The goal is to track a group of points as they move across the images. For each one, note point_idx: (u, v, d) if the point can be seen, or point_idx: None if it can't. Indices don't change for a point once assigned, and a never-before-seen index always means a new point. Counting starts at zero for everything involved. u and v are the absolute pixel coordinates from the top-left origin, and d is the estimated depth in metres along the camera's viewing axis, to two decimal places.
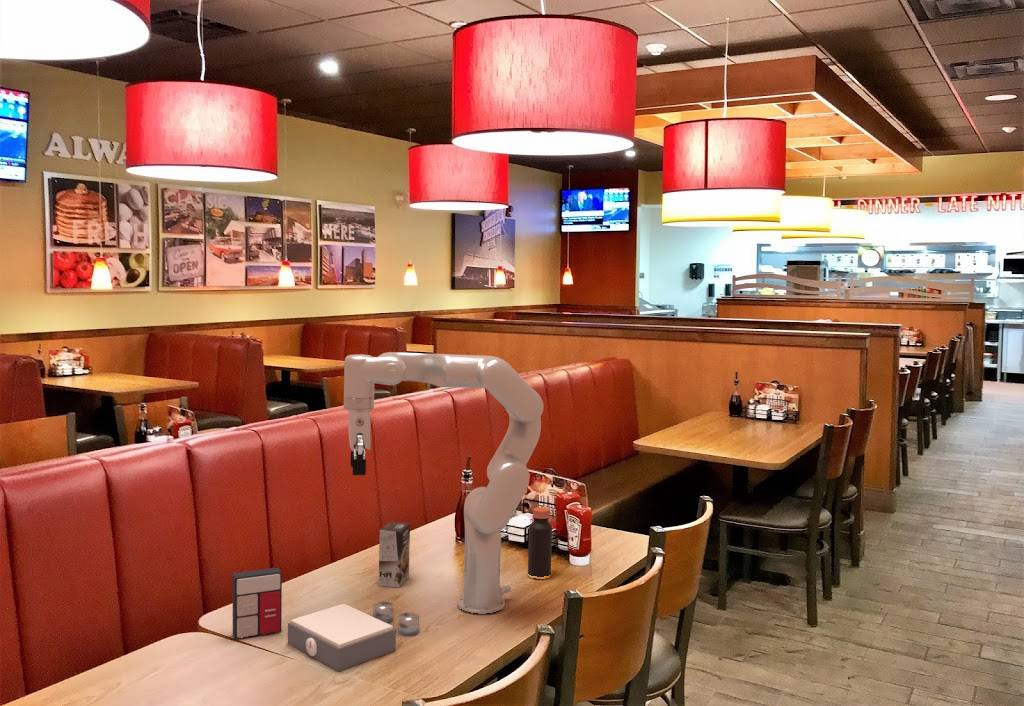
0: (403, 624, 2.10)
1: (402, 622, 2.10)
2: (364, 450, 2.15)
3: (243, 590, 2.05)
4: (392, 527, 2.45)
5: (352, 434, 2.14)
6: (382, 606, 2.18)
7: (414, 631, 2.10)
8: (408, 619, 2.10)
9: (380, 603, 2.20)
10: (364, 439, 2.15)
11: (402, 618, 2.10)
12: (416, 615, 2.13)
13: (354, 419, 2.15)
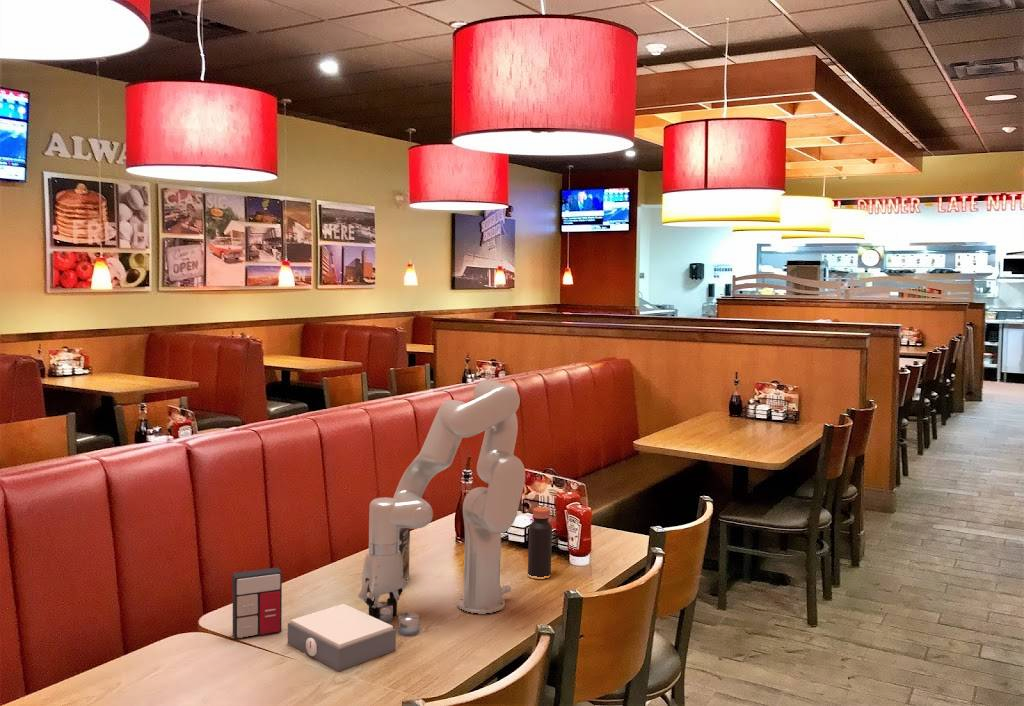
0: (403, 624, 2.10)
1: (402, 622, 2.10)
2: None
3: (243, 590, 2.05)
4: None
5: (402, 572, 2.20)
6: (382, 606, 2.18)
7: (414, 631, 2.10)
8: (408, 619, 2.10)
9: (380, 603, 2.20)
10: None
11: (402, 618, 2.10)
12: (416, 615, 2.13)
13: None
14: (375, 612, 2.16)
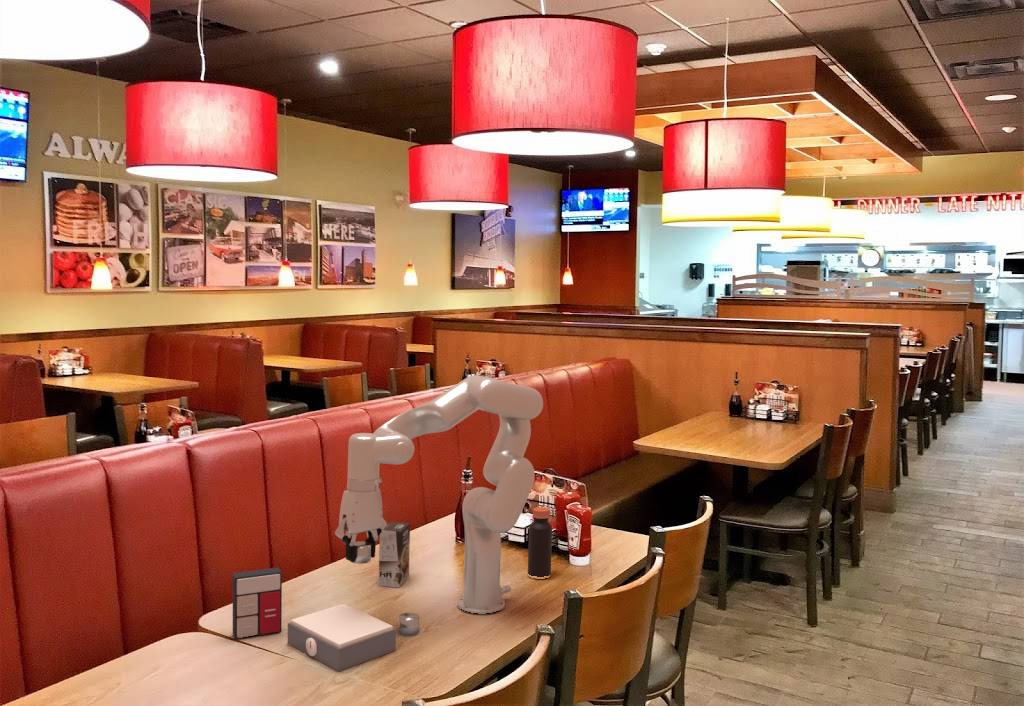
0: (403, 624, 2.10)
1: (402, 622, 2.10)
2: None
3: (243, 590, 2.05)
4: (392, 527, 2.45)
5: None
6: (359, 545, 2.10)
7: (414, 631, 2.10)
8: (408, 619, 2.10)
9: (358, 542, 2.13)
10: None
11: (402, 618, 2.10)
12: (416, 615, 2.13)
13: None
14: (352, 550, 2.08)
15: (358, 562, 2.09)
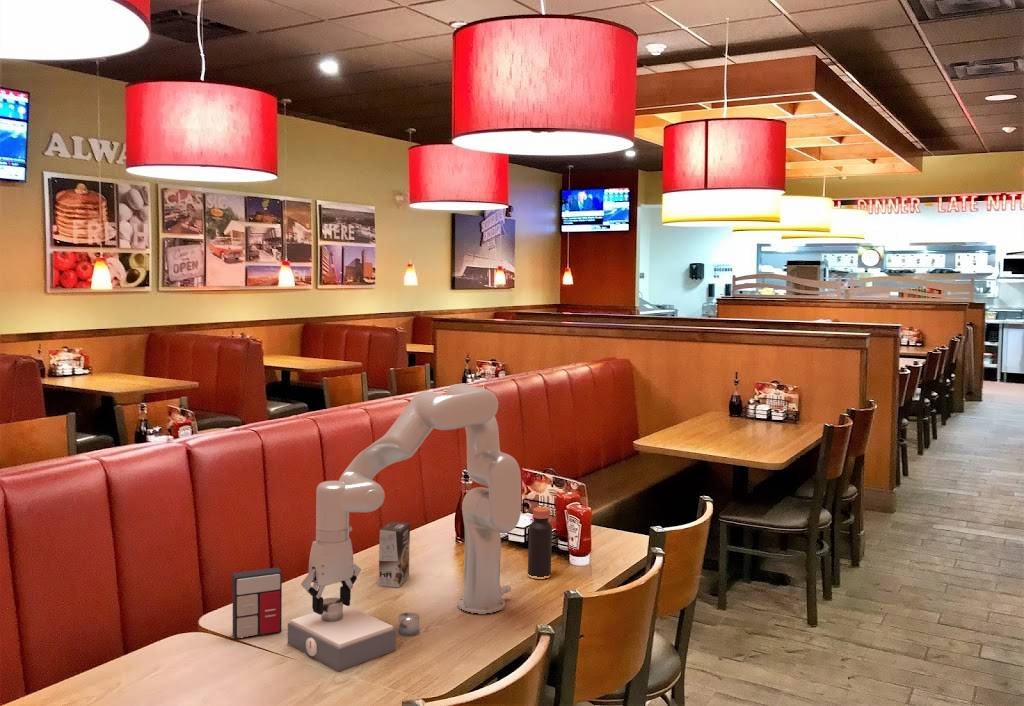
0: (403, 624, 2.10)
1: (402, 622, 2.10)
2: None
3: (243, 590, 2.05)
4: (392, 527, 2.45)
5: (353, 561, 2.06)
6: (330, 603, 2.04)
7: (414, 631, 2.10)
8: (408, 619, 2.10)
9: (329, 599, 2.06)
10: None
11: (402, 619, 2.10)
12: (416, 615, 2.13)
13: None
14: (319, 603, 2.01)
15: (329, 620, 2.03)
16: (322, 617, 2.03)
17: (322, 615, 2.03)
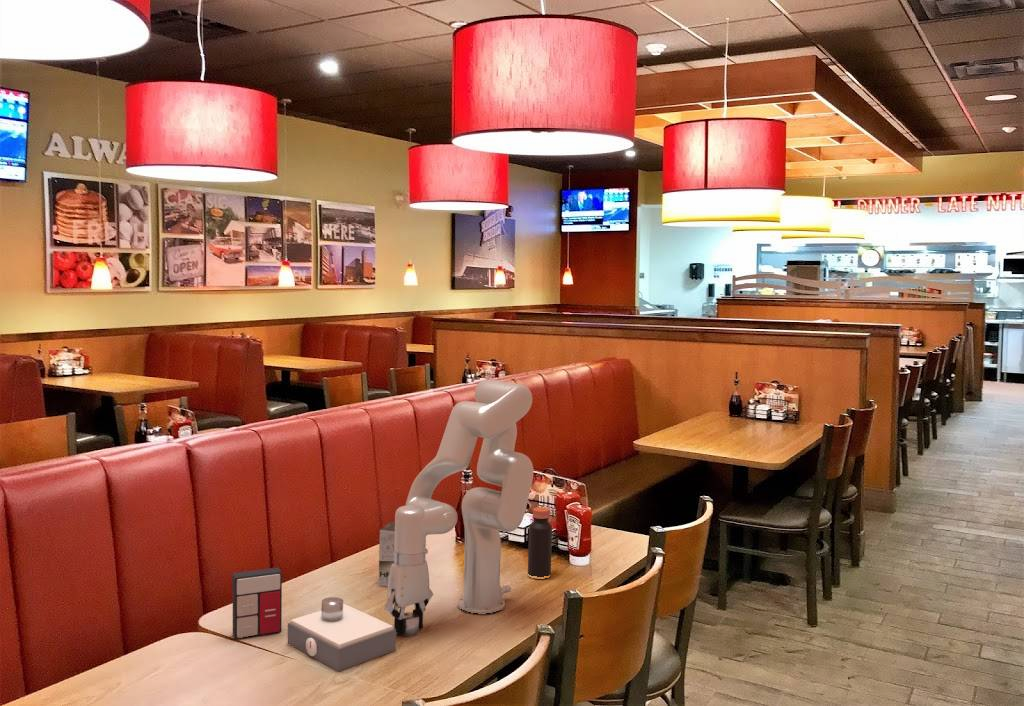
0: None
1: None
2: None
3: (243, 590, 2.05)
4: (392, 527, 2.45)
5: None
6: (331, 602, 2.04)
7: (414, 631, 2.10)
8: (408, 619, 2.10)
9: (329, 599, 2.06)
10: None
11: None
12: (416, 615, 2.13)
13: None
14: (401, 624, 2.09)
15: (330, 620, 2.03)
16: (323, 617, 2.03)
17: (323, 615, 2.03)
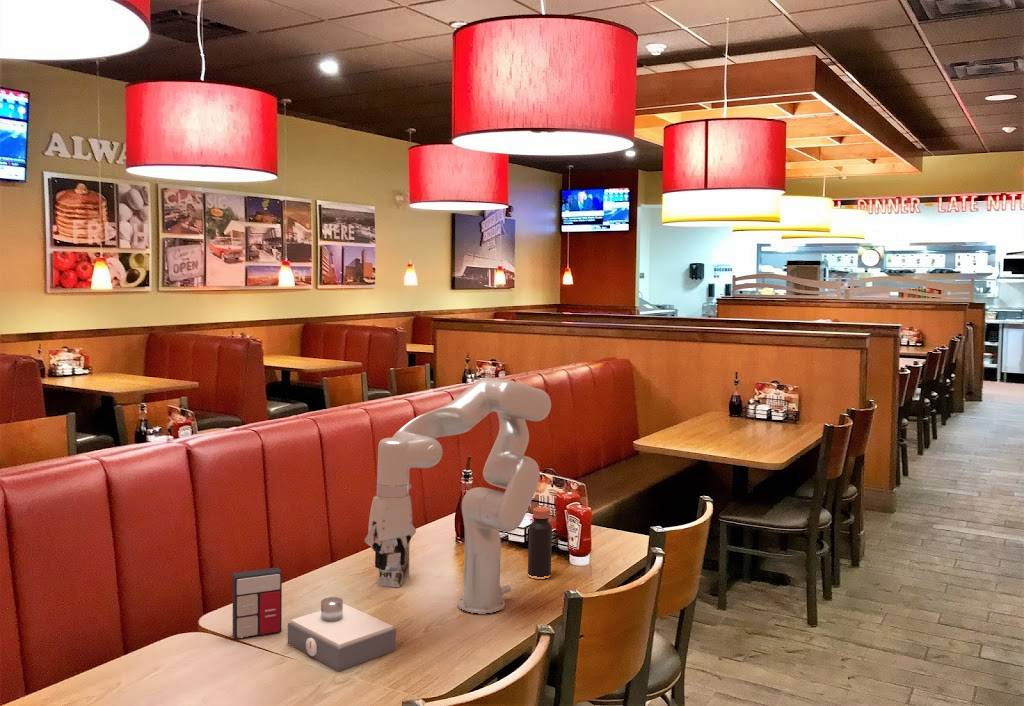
0: None
1: None
2: None
3: (243, 590, 2.05)
4: None
5: (411, 518, 2.08)
6: (331, 603, 2.04)
7: (395, 566, 2.04)
8: (389, 554, 2.04)
9: (328, 599, 2.05)
10: None
11: None
12: (398, 551, 2.07)
13: None
14: (382, 558, 2.03)
15: (332, 620, 2.03)
16: (323, 618, 2.03)
17: (323, 616, 2.03)
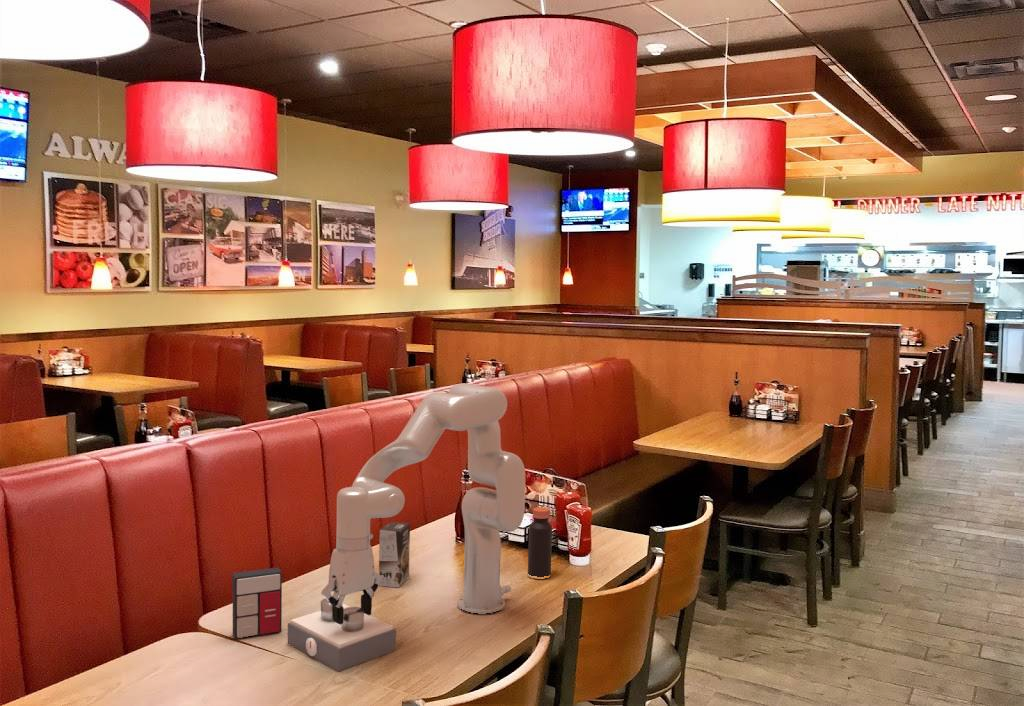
0: (346, 618, 1.97)
1: (345, 616, 1.97)
2: None
3: (243, 590, 2.05)
4: (392, 527, 2.45)
5: (374, 569, 2.01)
6: None
7: (357, 626, 1.98)
8: (351, 614, 1.97)
9: (326, 600, 2.05)
10: None
11: (345, 613, 1.98)
12: (361, 609, 2.00)
13: None
14: (339, 612, 1.95)
15: None
16: (325, 618, 2.03)
17: (325, 616, 2.03)
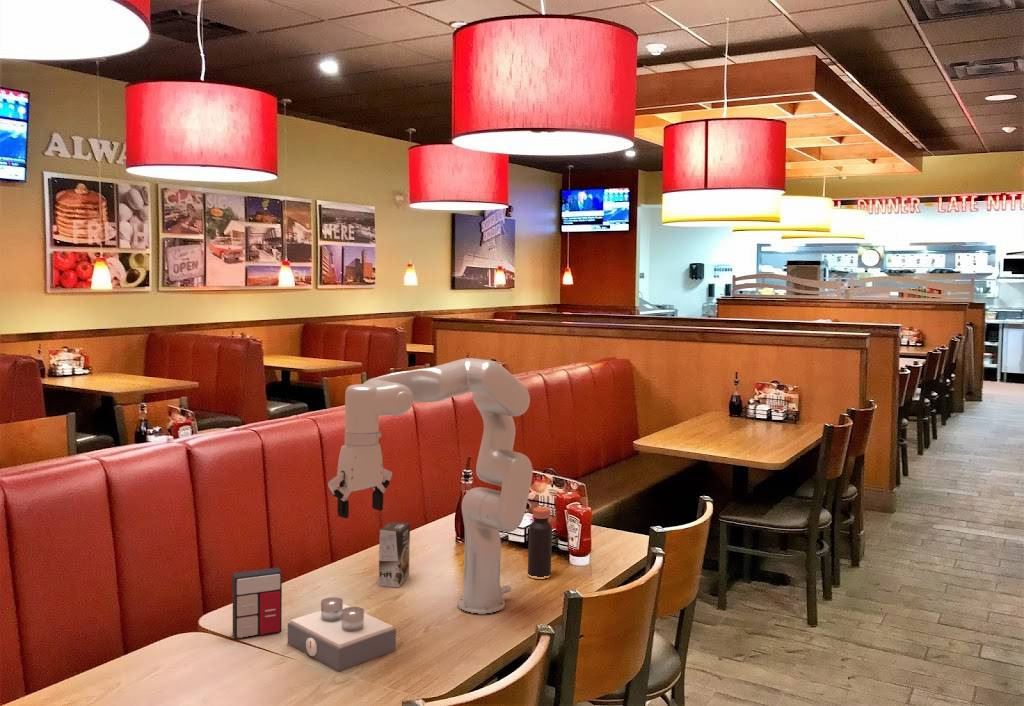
0: (346, 618, 1.97)
1: (345, 616, 1.97)
2: None
3: (243, 590, 2.05)
4: (392, 527, 2.45)
5: (382, 467, 2.00)
6: (333, 602, 2.04)
7: (358, 626, 1.98)
8: (351, 614, 1.97)
9: (326, 600, 2.05)
10: None
11: (345, 613, 1.98)
12: (361, 609, 2.00)
13: None
14: (344, 506, 1.94)
15: (336, 619, 2.03)
16: (327, 618, 2.03)
17: (327, 616, 2.03)
